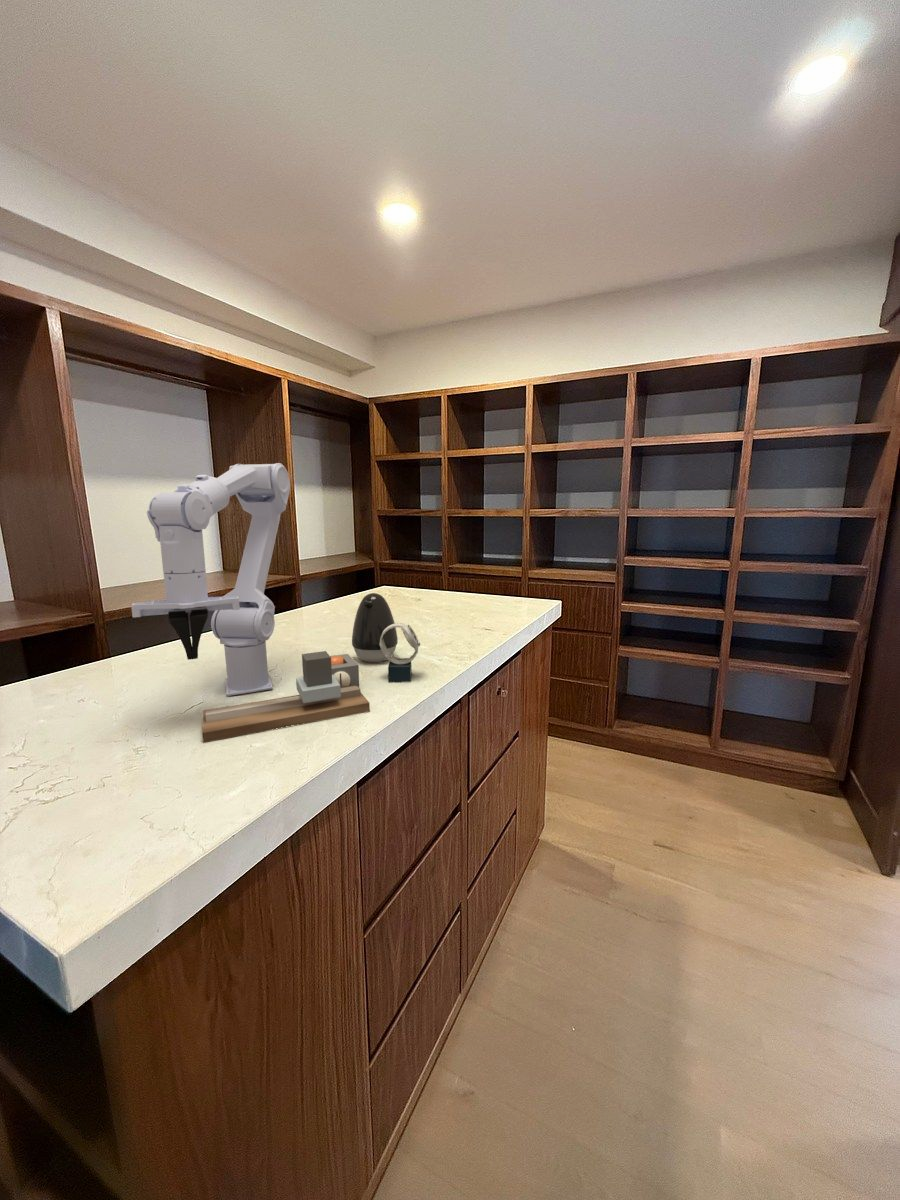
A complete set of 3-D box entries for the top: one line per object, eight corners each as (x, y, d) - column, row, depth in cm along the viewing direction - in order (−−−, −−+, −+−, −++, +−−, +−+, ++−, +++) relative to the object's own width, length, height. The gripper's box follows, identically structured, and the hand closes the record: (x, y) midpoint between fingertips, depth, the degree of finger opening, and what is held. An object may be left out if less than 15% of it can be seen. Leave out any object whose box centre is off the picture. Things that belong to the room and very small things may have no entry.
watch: (420, 681, 95) (419, 627, 93) (379, 682, 94) (377, 628, 92) (421, 672, 100) (420, 620, 98) (382, 673, 100) (380, 621, 98)
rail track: (204, 719, 78) (202, 703, 77) (355, 693, 89) (355, 679, 88) (203, 742, 70) (201, 725, 69) (369, 711, 81) (369, 695, 80)
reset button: (324, 669, 92) (324, 657, 92) (341, 666, 93) (341, 654, 93) (328, 674, 89) (327, 661, 89) (345, 671, 91) (345, 659, 90)
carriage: (296, 688, 83) (294, 652, 81) (331, 683, 85) (329, 648, 84) (303, 703, 76) (300, 664, 75) (341, 696, 79) (339, 658, 78)
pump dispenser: (345, 665, 105) (342, 596, 102) (361, 651, 115) (359, 589, 112) (390, 667, 103) (388, 597, 100) (403, 653, 113) (401, 589, 110)
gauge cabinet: (313, 683, 94) (312, 658, 93) (348, 677, 97) (347, 653, 96) (322, 697, 87) (320, 671, 86) (360, 691, 90) (359, 665, 89)
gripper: (124, 577, 67) (134, 670, 69) (237, 572, 73) (244, 658, 75) (131, 572, 73) (141, 658, 75) (235, 568, 79) (241, 647, 82)
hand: (192, 657), depth 76 cm, fingers closed
